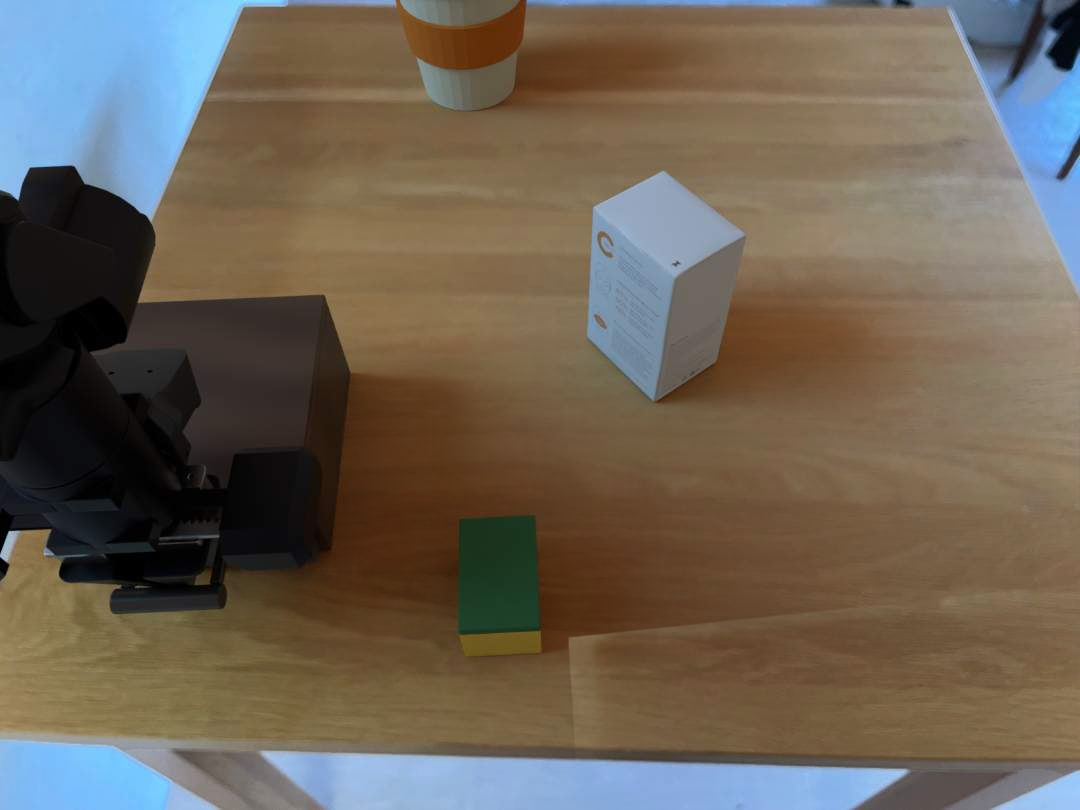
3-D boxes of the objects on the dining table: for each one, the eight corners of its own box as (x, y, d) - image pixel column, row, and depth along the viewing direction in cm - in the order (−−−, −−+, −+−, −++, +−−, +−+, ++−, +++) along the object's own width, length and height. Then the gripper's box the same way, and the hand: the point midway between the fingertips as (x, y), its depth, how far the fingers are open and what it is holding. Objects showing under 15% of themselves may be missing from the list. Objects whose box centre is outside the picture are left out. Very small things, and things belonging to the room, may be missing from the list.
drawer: (308, 634, 50) (277, 590, 45) (84, 645, 50) (25, 602, 44) (337, 390, 61) (314, 329, 55) (152, 398, 60) (111, 338, 55)
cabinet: (331, 550, 54) (297, 484, 47) (106, 561, 54) (38, 497, 47) (350, 372, 63) (324, 294, 56) (155, 381, 62) (104, 303, 55)
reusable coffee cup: (406, 52, 87) (381, -103, 74) (526, 43, 87) (521, -112, 75) (407, 127, 79) (380, -31, 67) (538, 117, 80) (535, -41, 68)
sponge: (541, 653, 50) (540, 626, 46) (465, 657, 50) (457, 630, 46) (536, 546, 54) (535, 514, 50) (466, 550, 54) (459, 518, 50)
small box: (717, 363, 63) (750, 234, 52) (653, 405, 60) (674, 279, 50) (646, 299, 66) (664, 166, 56) (584, 336, 64) (589, 206, 54)
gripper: (297, 291, 42) (358, 458, 54) (-80, 307, 41) (70, 471, 54) (263, 484, 35) (341, 623, 48) (-184, 504, 35) (13, 638, 48)
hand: (189, 580), depth 49 cm, fingers closed, pressing on drawer
